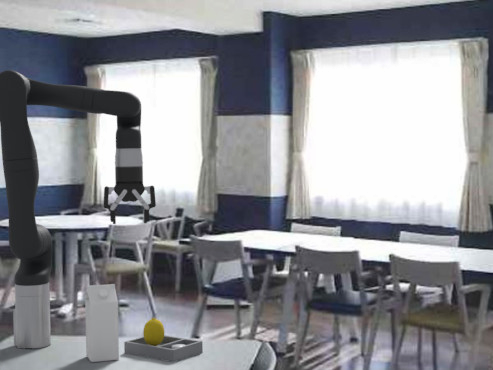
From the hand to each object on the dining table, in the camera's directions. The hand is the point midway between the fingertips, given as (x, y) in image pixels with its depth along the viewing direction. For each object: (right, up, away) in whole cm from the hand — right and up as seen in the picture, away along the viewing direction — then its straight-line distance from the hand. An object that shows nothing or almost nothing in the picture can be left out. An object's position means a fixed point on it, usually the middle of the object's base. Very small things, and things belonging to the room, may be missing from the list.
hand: (129, 223), depth 231 cm
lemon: (+8, -33, -10) cm, 35 cm away
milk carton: (-5, -34, -17) cm, 38 cm away
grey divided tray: (+10, -34, -12) cm, 37 cm away
